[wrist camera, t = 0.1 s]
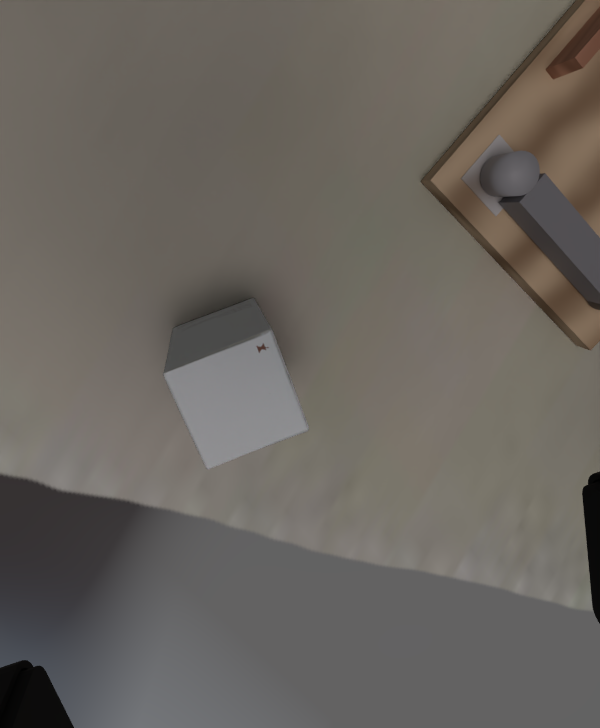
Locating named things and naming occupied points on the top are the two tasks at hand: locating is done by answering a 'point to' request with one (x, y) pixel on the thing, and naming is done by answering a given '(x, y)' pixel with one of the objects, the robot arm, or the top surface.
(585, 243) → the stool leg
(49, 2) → the top surface
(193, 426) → the supplement box
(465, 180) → the flat wooden plank
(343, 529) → the top surface
